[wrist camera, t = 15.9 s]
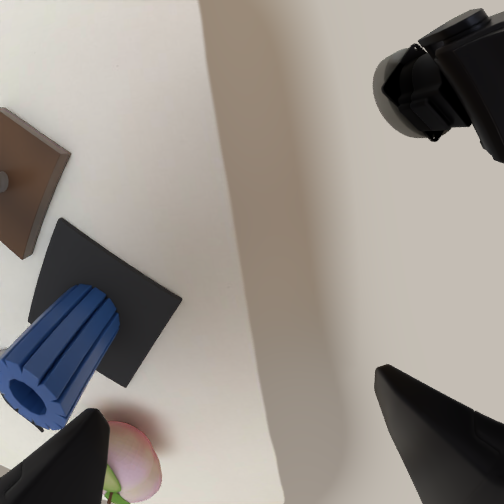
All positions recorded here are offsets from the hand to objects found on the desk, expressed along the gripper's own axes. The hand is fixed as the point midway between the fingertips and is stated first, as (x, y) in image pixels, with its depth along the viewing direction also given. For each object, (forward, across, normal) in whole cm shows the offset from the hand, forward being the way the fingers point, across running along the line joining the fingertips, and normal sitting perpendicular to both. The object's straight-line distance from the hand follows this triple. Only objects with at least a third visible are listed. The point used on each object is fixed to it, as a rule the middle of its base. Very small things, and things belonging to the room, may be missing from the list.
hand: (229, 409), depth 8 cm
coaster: (+13, +12, +2) cm, 18 cm away
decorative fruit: (+13, +15, +16) cm, 26 cm away
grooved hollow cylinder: (+13, +12, +2) cm, 17 cm away
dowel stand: (+13, +16, -10) cm, 23 cm away
